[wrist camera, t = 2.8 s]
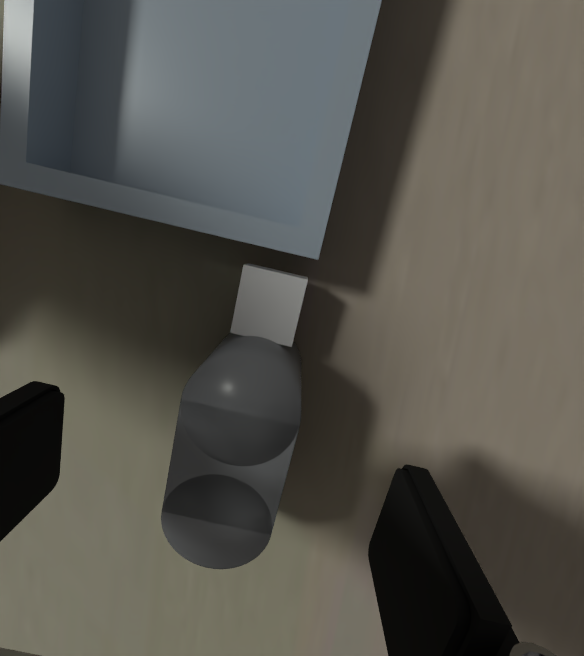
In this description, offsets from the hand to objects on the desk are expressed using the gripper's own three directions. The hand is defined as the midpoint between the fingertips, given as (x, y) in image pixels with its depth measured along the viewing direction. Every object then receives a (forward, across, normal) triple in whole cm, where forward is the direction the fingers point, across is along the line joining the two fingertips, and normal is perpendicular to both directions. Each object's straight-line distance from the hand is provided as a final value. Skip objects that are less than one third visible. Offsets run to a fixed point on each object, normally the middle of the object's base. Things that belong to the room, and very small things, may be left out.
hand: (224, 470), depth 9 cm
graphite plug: (+5, 0, 0) cm, 5 cm away
